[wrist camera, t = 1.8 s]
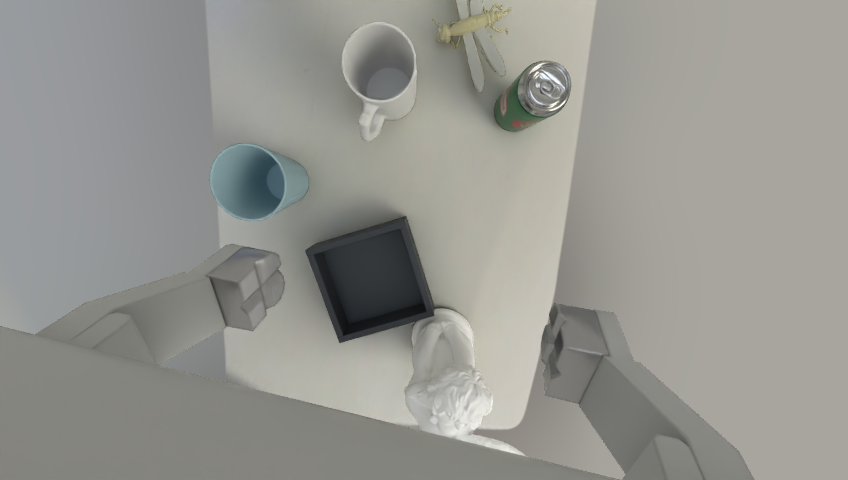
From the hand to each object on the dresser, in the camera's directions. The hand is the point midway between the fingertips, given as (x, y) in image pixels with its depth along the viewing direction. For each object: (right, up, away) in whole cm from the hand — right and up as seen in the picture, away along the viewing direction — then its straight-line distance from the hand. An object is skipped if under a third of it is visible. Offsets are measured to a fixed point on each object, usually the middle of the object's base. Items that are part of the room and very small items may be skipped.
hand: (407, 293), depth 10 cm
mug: (-4, +18, +33) cm, 38 cm away
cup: (-17, +9, +35) cm, 40 cm away
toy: (+6, +26, +32) cm, 41 cm away
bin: (-6, -3, +37) cm, 37 cm away
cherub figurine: (+4, -13, +39) cm, 41 cm away
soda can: (+12, +18, +33) cm, 39 cm away
